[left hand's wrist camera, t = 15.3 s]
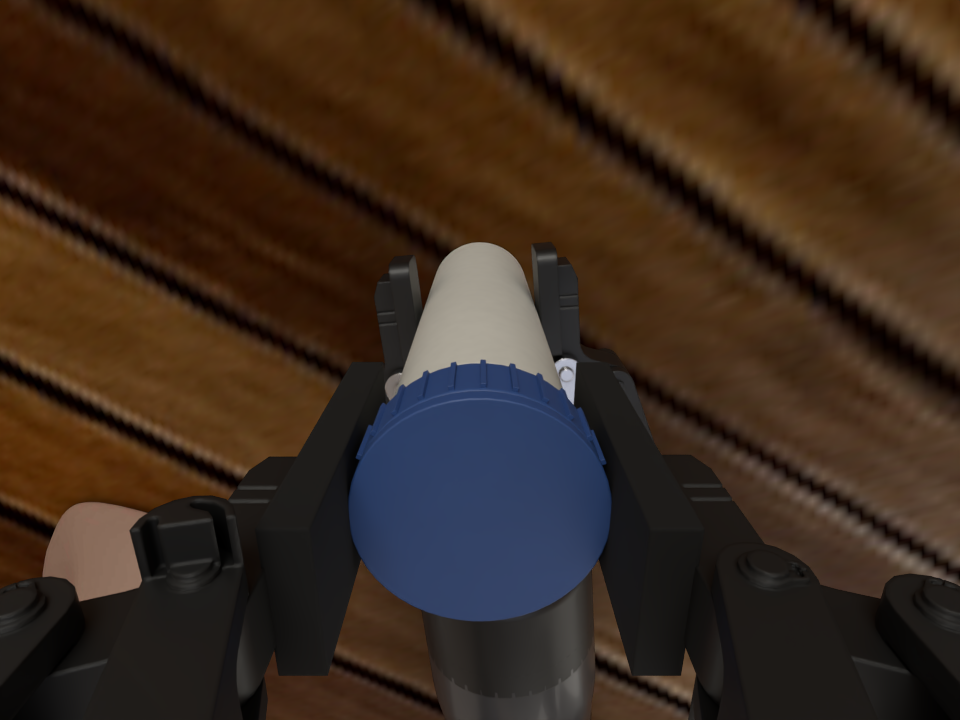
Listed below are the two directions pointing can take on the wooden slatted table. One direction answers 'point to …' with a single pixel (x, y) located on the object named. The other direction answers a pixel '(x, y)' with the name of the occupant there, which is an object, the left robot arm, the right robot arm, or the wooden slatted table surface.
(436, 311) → the white cylindrical bottle
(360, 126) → the wooden slatted table surface
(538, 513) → the lid
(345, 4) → the wooden slatted table surface
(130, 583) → the anatomical model
